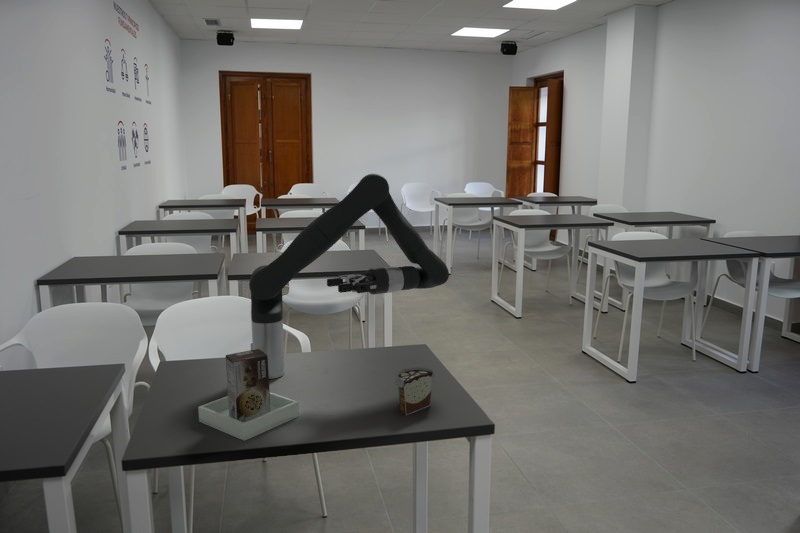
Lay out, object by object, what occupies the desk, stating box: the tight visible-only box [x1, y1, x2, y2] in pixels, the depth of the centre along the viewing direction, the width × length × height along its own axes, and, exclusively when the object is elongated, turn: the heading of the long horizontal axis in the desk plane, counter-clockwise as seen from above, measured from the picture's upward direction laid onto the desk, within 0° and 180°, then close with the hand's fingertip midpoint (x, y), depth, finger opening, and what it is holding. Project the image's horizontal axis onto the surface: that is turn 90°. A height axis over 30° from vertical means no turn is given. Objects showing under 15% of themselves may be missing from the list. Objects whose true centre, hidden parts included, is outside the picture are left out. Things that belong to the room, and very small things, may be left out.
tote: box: [197, 391, 300, 442], centre depth 163 cm, size 18×18×4 cm
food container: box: [395, 366, 436, 416], centre depth 170 cm, size 12×6×10 cm, turn 135°
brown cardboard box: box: [225, 349, 271, 422], centre depth 162 cm, size 9×6×16 cm
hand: (332, 285), depth 179 cm, fingers open, 8 cm apart
